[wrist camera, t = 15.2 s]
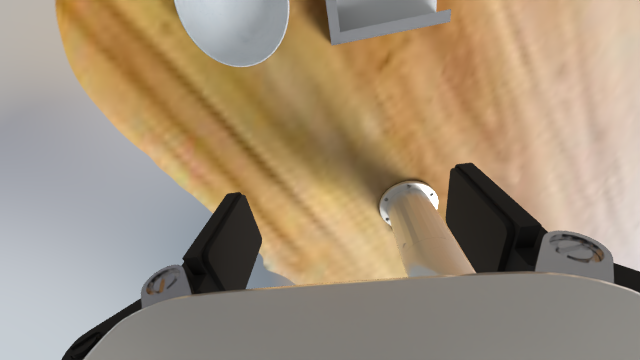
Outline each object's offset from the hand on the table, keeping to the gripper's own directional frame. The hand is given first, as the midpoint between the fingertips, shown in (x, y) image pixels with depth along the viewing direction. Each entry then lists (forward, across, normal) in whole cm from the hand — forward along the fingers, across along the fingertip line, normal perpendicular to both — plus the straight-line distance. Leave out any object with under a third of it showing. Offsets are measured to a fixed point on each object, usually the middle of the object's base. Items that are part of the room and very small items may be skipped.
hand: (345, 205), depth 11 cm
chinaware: (+36, +12, -13) cm, 41 cm away
